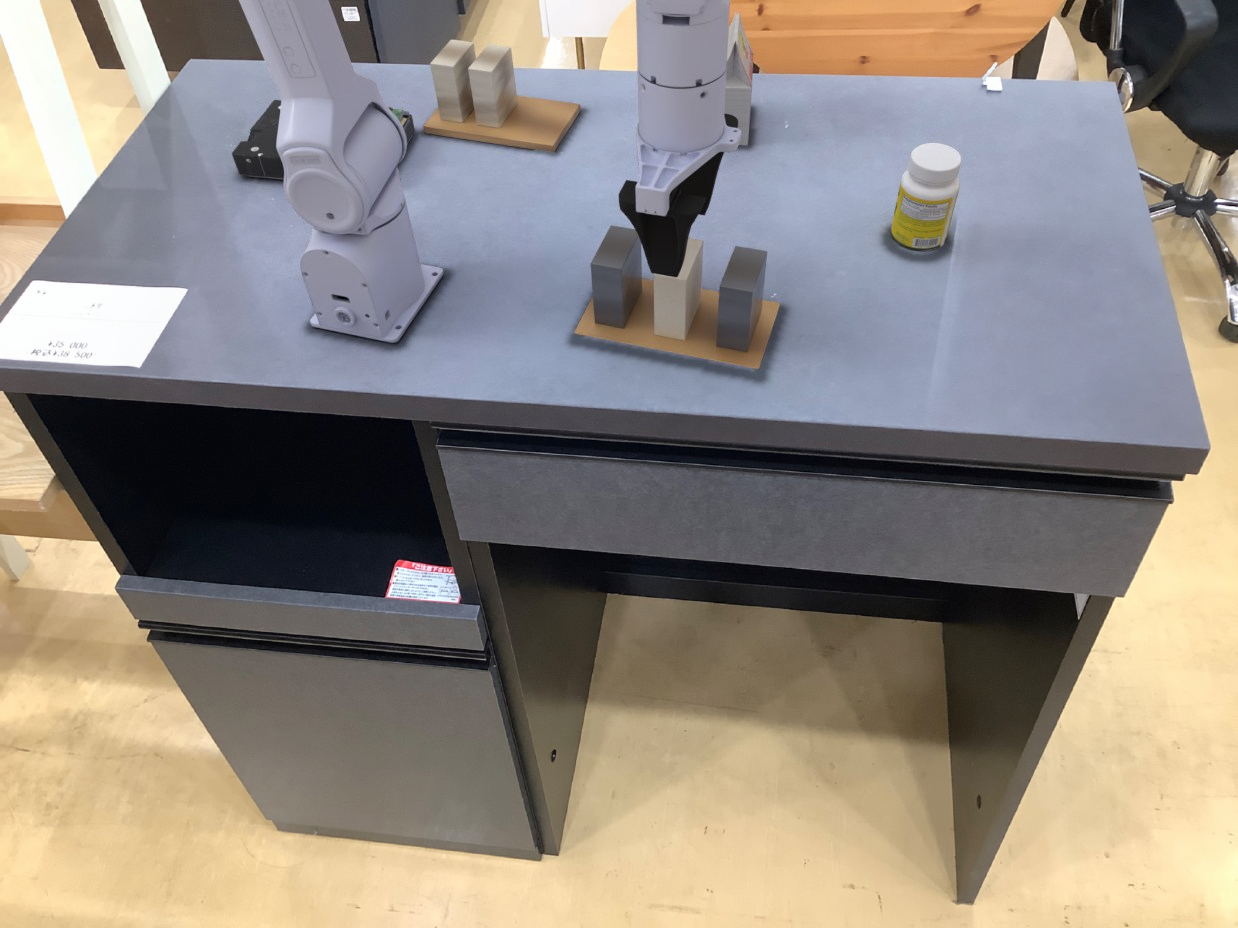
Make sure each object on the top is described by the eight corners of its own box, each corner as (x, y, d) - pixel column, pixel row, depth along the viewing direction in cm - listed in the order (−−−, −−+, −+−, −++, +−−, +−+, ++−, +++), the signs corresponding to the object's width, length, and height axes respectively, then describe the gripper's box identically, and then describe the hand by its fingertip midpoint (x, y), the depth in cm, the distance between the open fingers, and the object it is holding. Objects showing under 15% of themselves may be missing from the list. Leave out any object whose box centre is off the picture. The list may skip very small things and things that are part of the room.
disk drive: (239, 180, 95) (384, 189, 93) (229, 155, 93) (377, 163, 91) (280, 123, 102) (417, 130, 100) (272, 98, 100) (411, 105, 98)
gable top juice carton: (709, 144, 96) (714, 45, 89) (713, 108, 101) (717, 10, 93) (747, 145, 96) (755, 46, 89) (749, 109, 100) (756, 11, 93)
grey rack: (758, 376, 75) (765, 308, 70) (574, 340, 79) (567, 272, 74) (779, 310, 80) (787, 241, 75) (605, 278, 84) (601, 211, 78)
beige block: (684, 340, 77) (686, 280, 73) (654, 335, 78) (653, 274, 73) (701, 300, 80) (703, 240, 76) (671, 295, 81) (672, 235, 76)
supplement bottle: (909, 218, 88) (929, 133, 81) (955, 240, 85) (979, 154, 79) (877, 242, 86) (894, 157, 79) (923, 266, 83) (945, 180, 77)
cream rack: (553, 153, 96) (547, 87, 91) (424, 133, 100) (411, 69, 94) (580, 111, 101) (576, 47, 96) (456, 93, 104) (445, 30, 99)
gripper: (714, 134, 58) (707, 312, 68) (768, 21, 66) (754, 193, 77) (600, 118, 59) (610, 294, 69) (667, 10, 68) (667, 180, 78)
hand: (679, 241), depth 73 cm, fingers open, 7 cm apart
